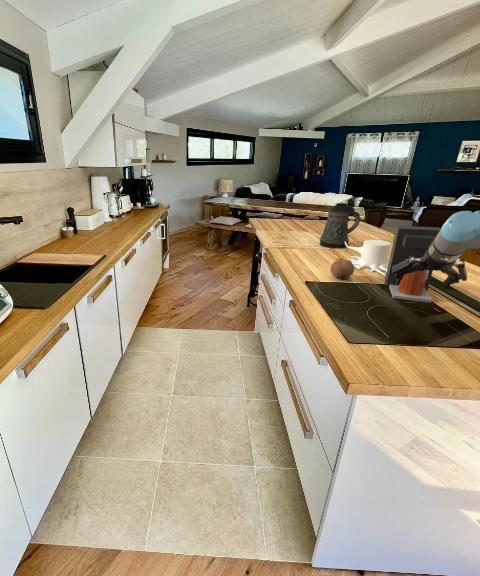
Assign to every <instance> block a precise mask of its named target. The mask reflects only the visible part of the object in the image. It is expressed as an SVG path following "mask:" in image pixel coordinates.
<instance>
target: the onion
mask: <svg viewBox="0 0 480 576" xmlns="http://www.w3.org/2000/svg"><path fill="white" fill-rule="evenodd" d="M349 260H350V259H345V258H343V257H338V258H336V259H335V260H334V261H333V262H332V264H331V265H330V268H329V269H330V273H331V275H332V276H333V277H334V278H336V279H338V280H343V281H344V280H346V279H349V278H350V277H351V276H353V274H354V272H355V267H354V265H353V264H352V262H351V261H349Z"/></svg>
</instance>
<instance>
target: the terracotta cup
mask: <svg viewBox="0 0 480 576" xmlns="http://www.w3.org/2000/svg"><path fill="white" fill-rule="evenodd" d="M428 272H429V270H424V271H416V272H412V273H408V274H405V275H404V277H403V278H402V280H401V282H400V283H399V285H398V289H397V290H398V291H399V292H400V293H403V294H406V295H411V296H419V295H422V293H423V290H424V287H425V283H426V279H427V275H428Z"/></svg>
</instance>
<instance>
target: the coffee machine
mask: <svg viewBox="0 0 480 576" xmlns="http://www.w3.org/2000/svg"><path fill="white" fill-rule="evenodd" d="M441 228H442V227H438V226H436V227H435V226H415V225H414V226H413V225H396V227H395V232H394V237H393V240H392V244H391V250H390V253H389V254H390V255H389V258H388V259H389V260H388V261H389V262H388V263H389V264H388V268H387V272H385V274H386V276H385V277H384V278H385V279H384V284H385V285H384V286H385V287H386V288H388V289H389V291H390V294H391V296H392V299H396V300H405V301H412V302H421V303H429V304H432V303H433V299H432V297H431V295H430V294H429V292H428V290H429V286H430V284H431V279H432V275H433V272H434V270H429V272H428V275H427V279H426V283H425V287H424V290H423V293H422V295H419V296H411V295H406V294H403V293H400V292H399V291H398V290H397V289H398V285H396V278H395V274H392V267H393V266H395V265H397V264H399V263H401V262H403V261H405V260H407V259H408V258H409V257H410V256H415V258H418V259H420V258H422V257H424V255H425V253H426V251H427V250H428V248H429V247H430V245H431V244H432V242H433V241H434V239H435V238H436V236H437V235H438V233H439V232H440V230H441Z"/></svg>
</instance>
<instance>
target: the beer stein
mask: <svg viewBox="0 0 480 576" xmlns="http://www.w3.org/2000/svg"><path fill="white" fill-rule="evenodd" d="M327 215H328V216H327V219H326V223H325V226H324V229H323V231H322V234H321V236H320V237H319V246H321V247H323V248H327V249H328V248H329V249H346V248H347V247H346V245H345V241H346V243H347V245H348V246H349V243H350V239H349V234H350V233H352V232H353V231H354V230H355V229H356V228H357V227H358V226H359V224H360V222H361V215H360V214H359V212H357V211H356V209H355V207H354V206H350V205H347V203H343V202H338V203H336V204H334V206H332V207H331V208H329V209H328V210H327ZM349 217H353V218H354V219H355V222H354V223H353V225H351V226H350V227H349Z"/></svg>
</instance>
